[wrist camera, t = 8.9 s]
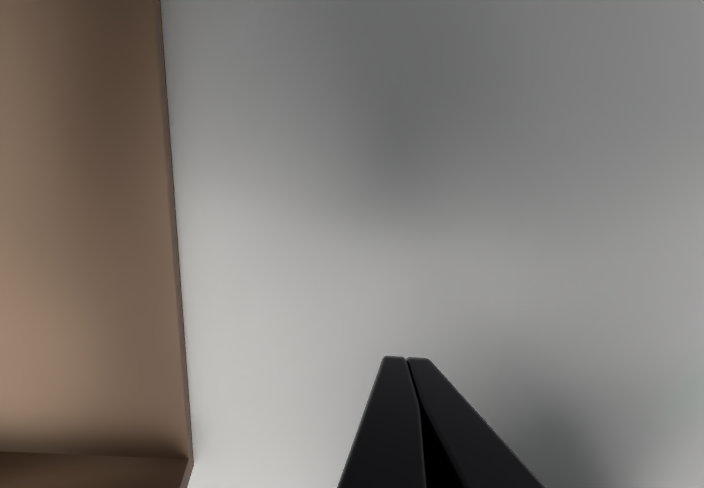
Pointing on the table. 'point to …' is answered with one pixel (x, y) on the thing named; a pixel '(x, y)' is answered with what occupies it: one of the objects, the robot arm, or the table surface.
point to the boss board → (88, 251)
